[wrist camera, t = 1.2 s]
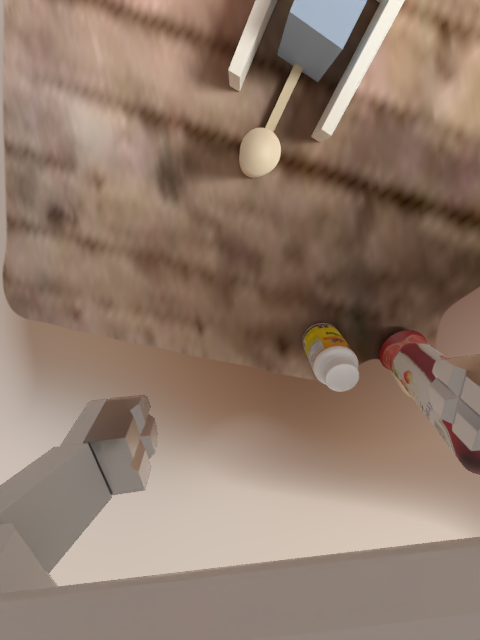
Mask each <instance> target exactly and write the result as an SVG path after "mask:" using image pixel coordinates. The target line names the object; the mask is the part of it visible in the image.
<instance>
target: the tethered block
mask: <svg viewBox="0 0 480 640" xmlns="http://www.w3.org/2000/svg"><path fill="white" fill-rule="evenodd" d="M366 2H367V0H294V2H293V5H292V7H291V9H290V12H289V15H288V19H287V22H286V25H285V29H284V32H283V36H282V39H281V42H280V46H279V49H278V53H277V55H278V56H279V57H281V58H282V59H284V60H285V61H287V62H288V63H290V64H291V65H292V66H293V68H292V70H291V73H290V75H289V77H288V79H287V81H286V83H285V86H284V88H283V90H282V92H281V94H280V97H279V99H278V101H277V103H276V105H275V107H274V110H273V112H272V114H271V116H270V118H269V120H268V123H267V125H266V127H265V128H255V129H253V130H251V131H250V132H248V133H247V134H246V135H245V137H244V138H243V140H242V143H241V146H240V155H239V165H240V168H241V170H242V172H243V173H244V174H245V175H246V176H248V177H250V178H259V177H261V176H263V175H265V174H267V173H268V172H270V171H271V170H273V169H274V168H275V166H276V165H277V163H278V161H279V159H280V154H281V147H280V142H279V140H278V138H277V136H276V135H275V134H274V133H273V132H274V130H275V128H276V125H277V123H278V121H279V119H280V117H281V115H282V113H283V111H284V109H285V106H286V104H287V102H288V100H289V98H290V96H291V94H292V92H293V89H294V87H295V85H296V83H297V81H298V79H299V77H300V75H301V72H303V73H304V74H306V75H307V76H309V77H310V78H312V79H313V80H315V81H316V82H318V81H319V80H320V79H321V78H322V76H323V75H324V74H325V72H326V71H327V70H328V68H329V67H330V66H331V64H332V63H333V62H334V60H335V59H336V58H337V56H338V55H339V54H340V52H341V51H342V50H343V48H344V46H345V44H346V42H347V40H348V38H349V36H350V34H351V32H352V30H353V28H354V26H355V24H356V22H357V20H358V18H359V16H360V14H361V12H362V10H363V8H364V6H365V4H366Z"/></svg>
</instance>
